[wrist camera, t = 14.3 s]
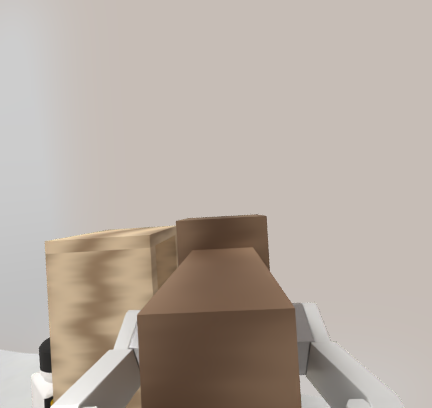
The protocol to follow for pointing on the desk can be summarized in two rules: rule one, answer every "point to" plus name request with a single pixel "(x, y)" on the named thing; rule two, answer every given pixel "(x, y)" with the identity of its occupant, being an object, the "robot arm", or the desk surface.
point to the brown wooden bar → (219, 323)
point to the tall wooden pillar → (101, 293)
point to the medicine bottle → (43, 379)
